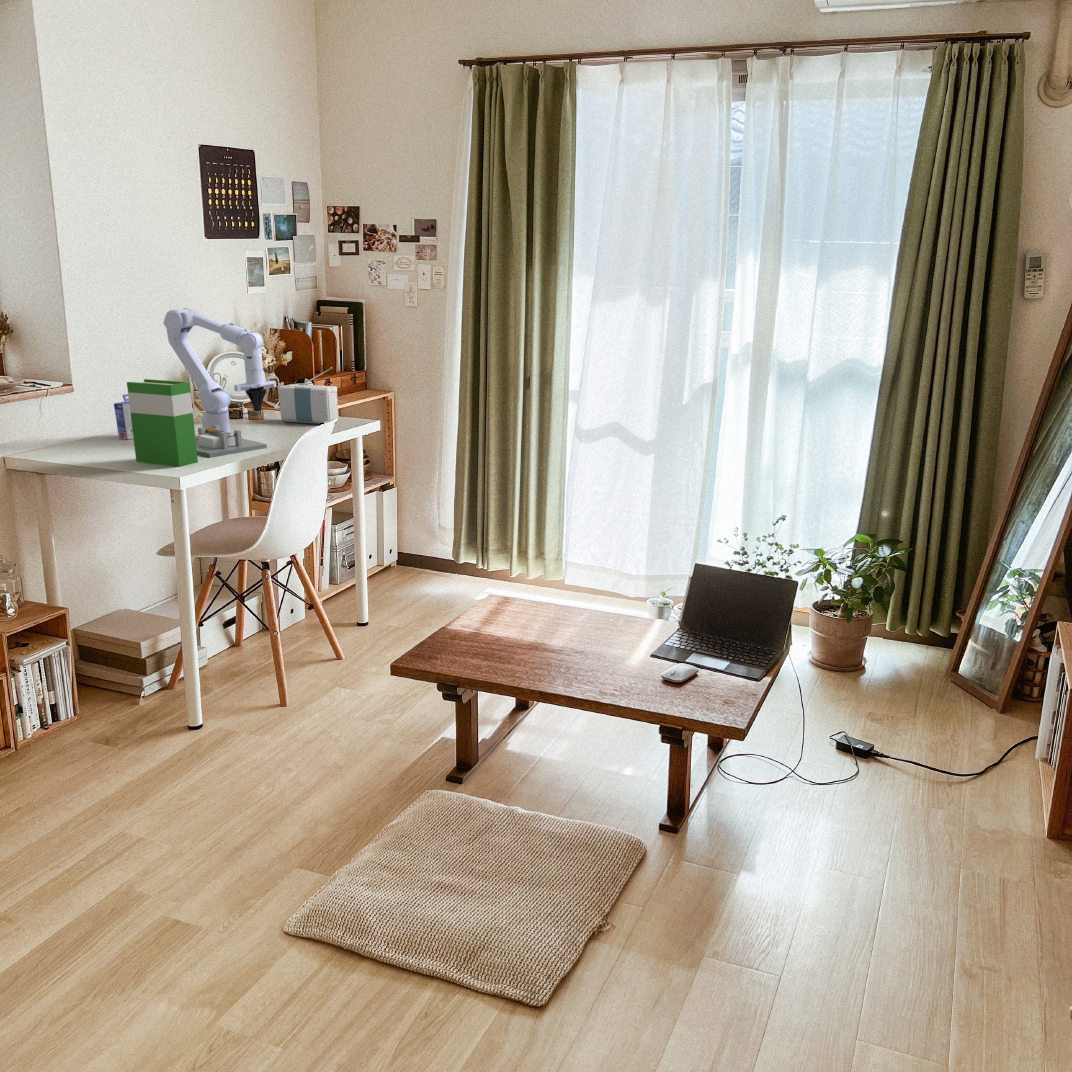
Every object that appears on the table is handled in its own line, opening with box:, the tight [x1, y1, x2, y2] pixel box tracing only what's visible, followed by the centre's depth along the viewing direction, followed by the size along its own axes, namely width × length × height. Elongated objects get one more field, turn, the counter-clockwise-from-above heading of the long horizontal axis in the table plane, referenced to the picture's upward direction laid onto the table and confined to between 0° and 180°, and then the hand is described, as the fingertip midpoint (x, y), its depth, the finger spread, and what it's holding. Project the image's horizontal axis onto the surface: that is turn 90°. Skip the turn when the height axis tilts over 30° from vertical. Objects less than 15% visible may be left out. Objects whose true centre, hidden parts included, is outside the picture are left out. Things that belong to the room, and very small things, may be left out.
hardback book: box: [126, 378, 199, 468], centre depth 307 cm, size 18×7×24 cm, turn 63°
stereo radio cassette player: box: [278, 366, 339, 425], centre depth 372 cm, size 21×8×20 cm, turn 67°
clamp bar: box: [205, 427, 236, 437], centre depth 329 cm, size 14×3×1 cm, turn 47°
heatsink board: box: [196, 425, 268, 458], centre depth 330 cm, size 22×20×6 cm
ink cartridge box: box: [113, 393, 134, 440], centre depth 349 cm, size 10×6×14 cm, turn 146°
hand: (257, 410), depth 342 cm, fingers closed
